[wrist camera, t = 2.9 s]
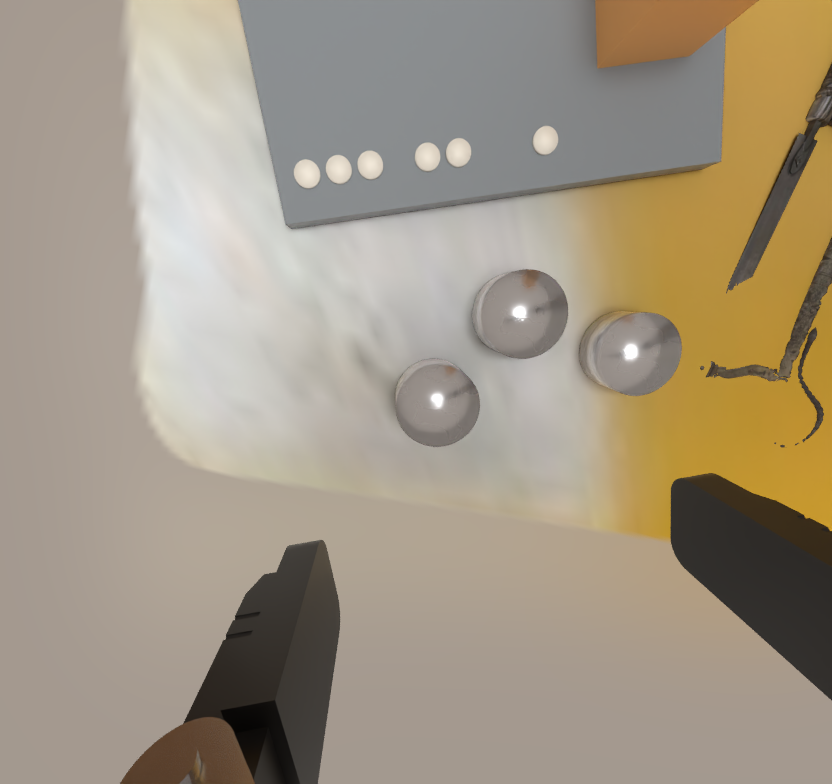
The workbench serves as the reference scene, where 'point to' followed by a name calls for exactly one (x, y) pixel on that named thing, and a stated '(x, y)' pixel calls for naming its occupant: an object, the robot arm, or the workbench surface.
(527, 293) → the steel cylinder
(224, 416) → the workbench surface
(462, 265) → the workbench surface
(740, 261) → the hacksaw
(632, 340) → the steel cylinder
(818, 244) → the workbench surface
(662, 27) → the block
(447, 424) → the steel cylinder
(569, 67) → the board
